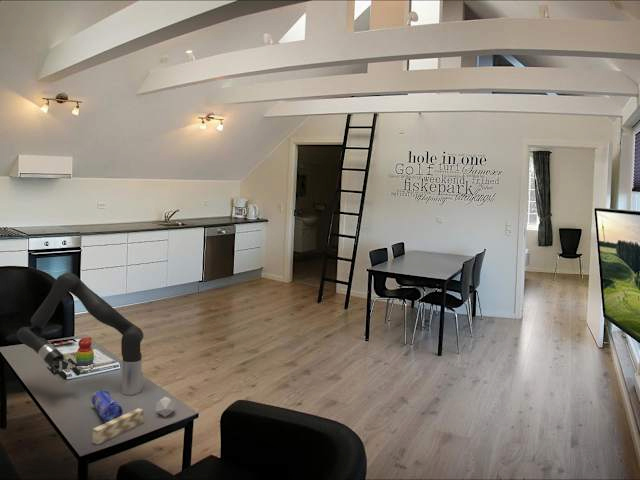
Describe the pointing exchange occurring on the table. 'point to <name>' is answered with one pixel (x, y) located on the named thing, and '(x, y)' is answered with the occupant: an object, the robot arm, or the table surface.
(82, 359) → the stacking bear
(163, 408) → the die
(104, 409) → the pencil case
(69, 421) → the table surface
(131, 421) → the birch board
